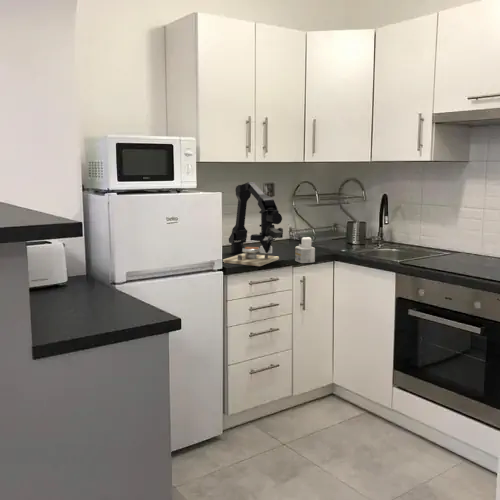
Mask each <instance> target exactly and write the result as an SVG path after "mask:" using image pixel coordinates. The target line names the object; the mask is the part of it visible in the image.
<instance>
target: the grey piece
mask: <svg viewBox="0 0 500 500" xmlns="http://www.w3.org/2000/svg"><path fill="white" fill-rule="evenodd" d="M242 252H245V253H259V254H265V253H266V252H265V250H264V248H263V246H262V245H260V246H244V248H243V249H242ZM245 253H244V254H245ZM268 254H273V246H272V245H270V248H269V251H268Z"/></svg>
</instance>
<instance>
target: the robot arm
mask: <svg viewBox="0 0 500 500" xmlns="http://www.w3.org/2000/svg"><path fill="white" fill-rule="evenodd" d="M251 195H252V196H253V197H254V198H255V200H256V201H257V206H258V207H259V209H260V210H259V212H258V213H259V214H260V217H261V218H260V224H259V227H261V228H260V229H261V231H260V232H259V233H258V234H257V233H253V234H251V235H250V241H254V242H255V241H256V242H259V243H260V244H261V246H263V248H264V250H265V252H266V253H268V251H269V248H270V246H272V243H273V242H274V241H276V239H278V238H279V239H282V238H283V237H284V235H283V234H284V229H283V228H282V227H278V228H275V225H279V224H281V223H282V220H283V216H282V214H281V213H279V210H278V207H277V205H276V201H275V199H274V198H273V197H271V196H270V195H266V194H265V193H264V191H262V189H261V188H260V187H259V186H258V185H257V182H255V181H247V182H245V183H242V184H238V185H237V186H235V196H236V198H237V208H236V218H235V225H234V226H233V227H232V229H231V233H230V236H229V237H228V243H229V244H230V245H231V250H230V251H231V252H229V254H231V255H239V254H243V253H244V254H245V252H242V249H243V248H245V245H244V244H245V243H247V237H248V229H247V228H246V227H245V224H246V215H247V204H248V201H249V199H250V198H251ZM268 254H269V253H268Z"/></svg>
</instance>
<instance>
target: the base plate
mask: <svg viewBox="0 0 500 500" xmlns="http://www.w3.org/2000/svg"><path fill="white" fill-rule="evenodd" d="M257 253H258V252H257ZM257 253H243V254H235V255H234V256H229V257H227V258H224V259H222V260H223V262H224V263H223V264H234V265H245V266H253V267H254V266H255V267H262V266H264V265H267V264H270V263H272V262H276V261H278V260H280V256H275V255H269V253H264V254H257Z"/></svg>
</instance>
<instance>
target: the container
mask: <svg viewBox="0 0 500 500" xmlns="http://www.w3.org/2000/svg"><path fill="white" fill-rule="evenodd" d="M312 240H313V239H312V237H310V236H300V237H299V238H298V245H297V246H295V248H294V249H295V251H294V253H295V256H294V257H295V258H294V261H295V262H298V263H300V264H309V263H310V264H311V263H315V262H316V261H315V260H316V248H315V247H313V246H312Z"/></svg>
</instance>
